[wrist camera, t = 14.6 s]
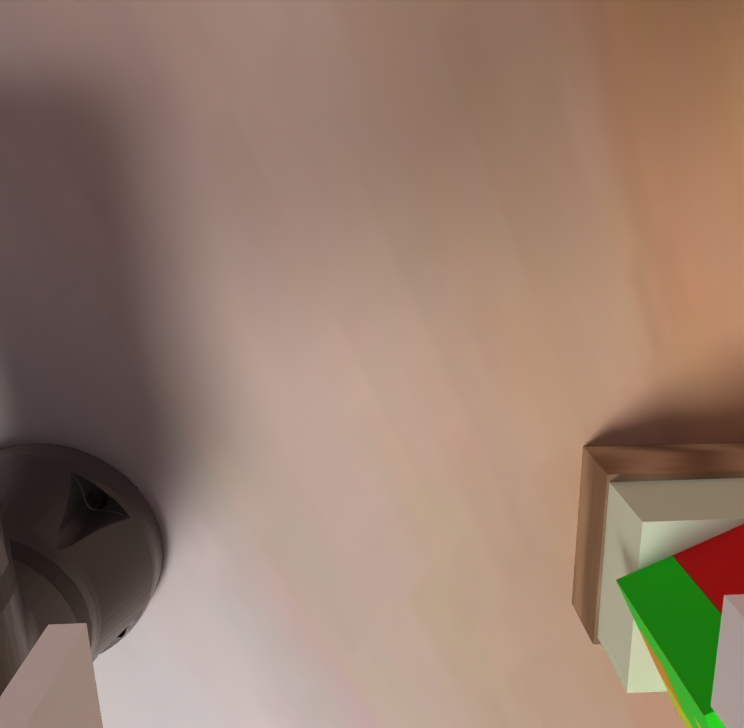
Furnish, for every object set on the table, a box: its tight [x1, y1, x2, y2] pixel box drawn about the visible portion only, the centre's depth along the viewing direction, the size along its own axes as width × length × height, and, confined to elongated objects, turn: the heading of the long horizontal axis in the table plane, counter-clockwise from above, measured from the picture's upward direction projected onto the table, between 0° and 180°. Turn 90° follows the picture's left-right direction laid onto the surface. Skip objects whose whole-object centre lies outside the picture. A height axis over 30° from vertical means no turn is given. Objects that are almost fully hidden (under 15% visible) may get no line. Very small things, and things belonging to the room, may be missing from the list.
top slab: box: [598, 478, 744, 693], centre depth 42 cm, size 11×11×5 cm
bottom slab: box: [572, 443, 744, 644], centre depth 46 cm, size 12×12×5 cm
